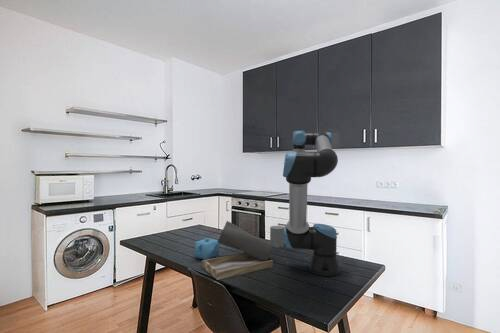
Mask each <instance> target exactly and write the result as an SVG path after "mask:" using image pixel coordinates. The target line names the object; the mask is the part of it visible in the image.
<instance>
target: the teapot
mask: <svg viewBox="0 0 500 333" xmlns="http://www.w3.org/2000/svg"><path fill="white" fill-rule="evenodd" d="M218 240H219V239H218ZM218 240H217V239H214V238H210V237H205V238H204V239H201V240H197V241H195V242H194V257H197V258H198V259H199V260H200V259H201V260H202V259H203V260H207V259H212V258H217V257H216V256H219V255H220V243H218Z"/></svg>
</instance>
